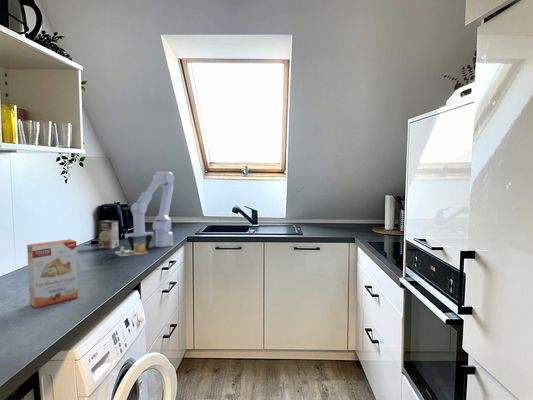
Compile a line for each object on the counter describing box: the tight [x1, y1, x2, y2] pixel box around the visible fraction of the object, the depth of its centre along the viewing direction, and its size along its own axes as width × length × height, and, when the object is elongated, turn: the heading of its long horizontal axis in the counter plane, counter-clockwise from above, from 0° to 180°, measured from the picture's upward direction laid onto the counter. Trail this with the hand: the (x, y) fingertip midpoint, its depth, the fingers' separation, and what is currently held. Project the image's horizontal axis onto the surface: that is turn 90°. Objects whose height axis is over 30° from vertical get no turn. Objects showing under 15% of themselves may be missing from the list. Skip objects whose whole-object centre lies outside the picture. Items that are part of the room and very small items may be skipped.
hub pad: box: [114, 251, 130, 256], centre depth 199 cm, size 7×7×1 cm
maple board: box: [114, 249, 149, 257], centre depth 201 cm, size 15×13×1 cm
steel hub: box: [119, 245, 126, 253], centre depth 198 cm, size 2×2×4 cm
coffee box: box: [97, 219, 120, 249], centre depth 214 cm, size 9×6×16 cm
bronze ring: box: [133, 242, 147, 252], centre depth 203 cm, size 6×6×4 cm
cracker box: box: [26, 238, 79, 309], centre depth 129 cm, size 14×6×21 cm, turn 138°
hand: (140, 249), depth 203 cm, fingers open, 7 cm apart
